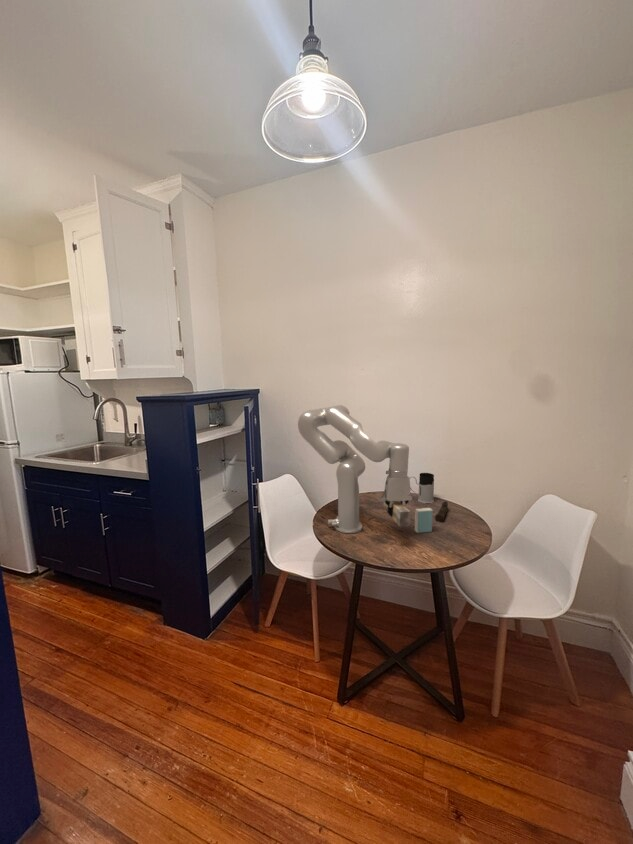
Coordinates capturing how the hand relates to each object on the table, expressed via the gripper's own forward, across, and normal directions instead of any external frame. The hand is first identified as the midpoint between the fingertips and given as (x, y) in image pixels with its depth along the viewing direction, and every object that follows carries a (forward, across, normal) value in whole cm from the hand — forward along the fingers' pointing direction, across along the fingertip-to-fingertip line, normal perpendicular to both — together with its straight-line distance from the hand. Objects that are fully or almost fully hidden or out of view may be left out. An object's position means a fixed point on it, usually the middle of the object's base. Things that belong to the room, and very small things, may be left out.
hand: (395, 514), depth 137 cm
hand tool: (+10, +32, +18) cm, 38 cm away
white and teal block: (+10, +15, +3) cm, 18 cm away
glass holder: (+10, +31, +37) cm, 50 cm away
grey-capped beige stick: (+1, 0, 0) cm, 1 cm away
